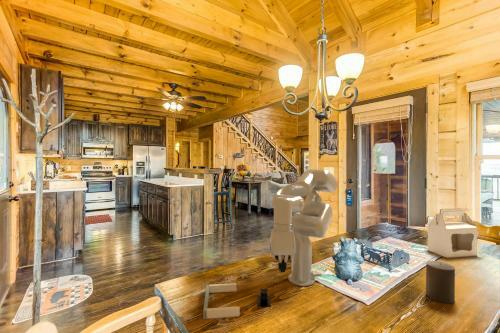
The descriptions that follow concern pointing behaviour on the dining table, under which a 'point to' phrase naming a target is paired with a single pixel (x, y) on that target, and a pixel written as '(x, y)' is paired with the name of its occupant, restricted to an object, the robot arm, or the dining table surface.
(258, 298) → the black boxy piece
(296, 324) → the dining table surface
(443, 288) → the pillar candle
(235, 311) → the u-shaped wooden bracket
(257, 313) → the dining table surface
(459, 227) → the gable box
